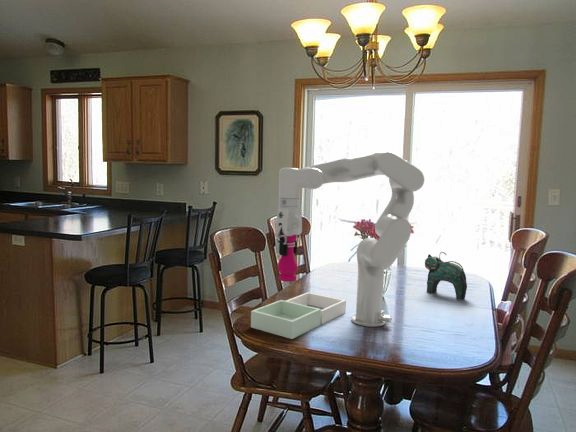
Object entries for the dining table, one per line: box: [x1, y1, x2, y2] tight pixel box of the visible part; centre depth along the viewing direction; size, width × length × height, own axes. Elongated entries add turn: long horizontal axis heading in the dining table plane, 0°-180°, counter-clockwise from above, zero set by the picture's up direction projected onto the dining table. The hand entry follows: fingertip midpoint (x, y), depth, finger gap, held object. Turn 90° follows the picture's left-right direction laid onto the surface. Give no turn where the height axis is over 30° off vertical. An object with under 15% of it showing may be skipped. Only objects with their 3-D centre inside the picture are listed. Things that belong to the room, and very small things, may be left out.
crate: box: [285, 291, 347, 325], centre depth 184 cm, size 18×18×5 cm
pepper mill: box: [276, 233, 299, 283], centre depth 166 cm, size 7×7×20 cm
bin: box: [250, 299, 322, 340], centre depth 169 cm, size 18×18×6 cm
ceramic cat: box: [424, 251, 468, 301], centre depth 215 cm, size 20×6×20 cm, turn 41°
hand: (288, 253), depth 166 cm, fingers closed on pepper mill, 5 cm apart
